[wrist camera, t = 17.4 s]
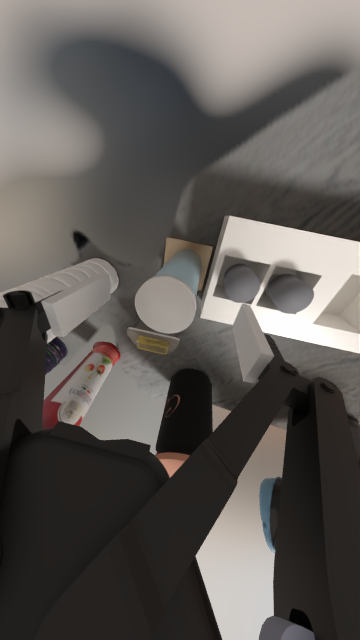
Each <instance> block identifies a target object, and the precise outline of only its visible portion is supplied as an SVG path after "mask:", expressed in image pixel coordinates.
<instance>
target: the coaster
mask: <svg viewBox="0 0 360 640" xmlns="http://www.w3.org/2000/svg"><path fill="white" fill-rule="evenodd" d="M185 249H187V250H191V251H193V252H195V253H196V254H197V255H198V256H199V258H200V260H201V264H202V267H201V273H200V278H199V284H198V289H197V290H200V291H202V287H203V283H204V279H205V276H206V272H207V268H208V264H209V260H210V257H211V253H212V249H213V247H212V246H208V245H203V244H198V243H193V242H189V241H184V240H179V239H174V238H169V237H167V239H166V248H165V257H164V265H165V264H166V263H167V262H168V261H169V260H170V259H171V258H172V257H173V256H174V254H176V253H177V252H178V251H180V250H185Z"/></svg>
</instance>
